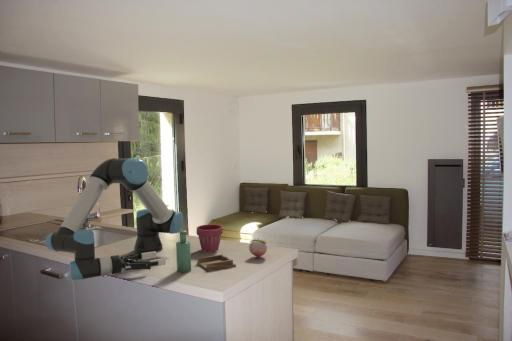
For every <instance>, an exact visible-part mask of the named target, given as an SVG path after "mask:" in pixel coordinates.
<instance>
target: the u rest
mask: <svg viewBox="0 0 512 341" xmlns="http://www.w3.org/2000/svg"><path fill="white" fill-rule="evenodd" d="M196 264H197V265H198V266H199V267H200V268H202V269H204V270H205V271H207V272H214V271H218V270H223V269H225V270H226V269H231V268H236V267H237V264H236V263H234V259H232V258H230V257H228V256H226V255H224V254H223V253H221V254H217V255H216V254H215V255H209V256H203V257H197V262H196Z"/></svg>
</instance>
